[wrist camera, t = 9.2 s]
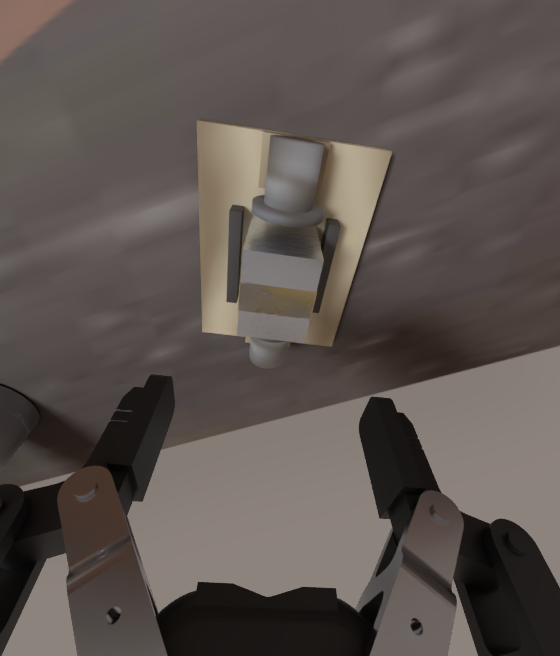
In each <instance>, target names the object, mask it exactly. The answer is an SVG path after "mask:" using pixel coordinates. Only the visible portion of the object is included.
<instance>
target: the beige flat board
mask: <svg viewBox="0 0 560 656" xmlns="http://www.w3.org/2000/svg"><path fill="white" fill-rule="evenodd" d="M197 150H198V186H199V223H200V259H201V296H202V332H208V333H217V334H226V335H234V336H237V327H238V312H239V310H238V299H239V283H240V278H241V265H242V249H243V246H244V243H245V240H246V236H247V233H248V230H249V226H250V223H251V220H252V217H253V216H255V217H258V218H260V219H262V220H264V221H267V222H270V223H273V224H277V225H282V226H289V227H312V226H316V229H317V233H318V238H319V242H320V246H321V250H322V255H323V259H324V262H323V267H322V271H321V275H320V279H319V283H318V287H317V295H316V299H315V303H314V307H313V312H312V316H311V319H310V321H309V325H308V329H307V333H306V337H305V341H304V344H312V345H321V346H329V347H332V344H333V341H334V337H335V334H336V331H337V328H338V325H339V321H340V318H341V315H342V312H343V308H344V305H345V302H346V299H347V296H348V292H349V289H350V286H351V283H352V280H353V276H354V273H355V270H356V267H357V264H358V260H359V257H360V254H361V251H362V248H363V244H364V241H365V238H366V235H367V232H368V228H369V225H370V222H371V219H372V215H373V212H374V209H375V206H376V203H377V199H378V196H379V193H380V190H381V187H382V183H383V180H384V177H385V174H386V171H387V167H388V164H389V161H390V158H391V155H392V151H390V150H388V149H383V148H376V147H370V146H364V145H358V144H352V143H345V142H339V141H333V140H327V139H321V138H314V137H308V136H302V135H296V134H290V133H283V132H277V131H271V130H265V129H259V128H252V127H246V126H240V125H234V124H228V123H221V122H215V121H209V120H203V119H200V120H197ZM243 337H246V336H243ZM245 342H246V343H250V351H249V358H250V360H251V362H252V363H253V364H255V365H256V366H258V367H261V368H266V369H271V368H275V367H278V366H279V365H281V364H282V362H283V360H284V355H285V350H286V347H290V342H288V341H280V340H271V339H263V338H254V337H246V341H245ZM295 343H297V342H295Z"/></svg>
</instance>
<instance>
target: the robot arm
mask: <svg viewBox="0 0 560 656" xmlns="http://www.w3.org/2000/svg"><path fill="white" fill-rule="evenodd" d="M174 407H175V399H174V390H173V381H172V377H171V376H162V375H150V376H149V378H148V380H147V382H146V384H145V386H144V388H141V387H134V388H133V389H132V390H130V391H129V392H128V393H127V394H126V395H125V396H124V397H123V398H122V400H121V402H120V403H119V405H118V407H117V409H116V412H114V414H113V416H112V418H111V421H110V422H109V423H108V425H107V427H106V429H105V431H104V433H103V434H102V436H101V438H100V440H99V442H98V443H97V445H96V447H95V449H94V451H93V453H92V454H91V456H90V458H89V460H88V461H87V463H86V464H85V466H84V467H83V468H82V469H80V470H78V471H76V472H75V473H73V474H72V475H71V476H70V477H69V478H68V479H67V480H65V481H63V482H60V483H58V484H54V485H50V486H46V487H41V488H37V489H33V490H28V491H24V492H23V490H22V489H21V488H20V487H18V486H16V485H13V484H3V485H0V656H1V655H2V653H3V651H4V649H5V646H6V645H7V642H8V640H9V638H10V636H11V634H12V632H13V630H14V628H15V625H16V623H17V621H18V619H19V617H20V615H21V612H22V610H23V608H24V606H25V604H26V602H27V600H28V598H29V595H30V593H31V591H32V589H33V587H34V585H35V583H36V580H37V578H38V576H39V574H40V572H41V570H42V568H43V565H44V563H45V561H46V559H47V558H51V557H54V556H57V555H61V554H64V553H66V555H67V561H68V567H69V574H68V576H67V580H66V582H67V583H66V584H67V595H68V600H69V607H70V613H71V619H72V625H73V631H74V638H75V643H76V650H77V656H447V655H448V650H449V645H450V639H451V634H452V628H453V624H454V618H455V613H456V605H457V600H456V596H455V595H454V594H453V593H452V590H451V586H452V581H453V579H454V582H455V584H456V588H457V591H458V594H459V597H460V600H461V603H462V606H463V609H464V613H465V616H466V619H467V622H468V625H469V628H470V631H471V634H472V637H473V641H474V644H475V647H476V650H477V653H478V656H560V588H559V586H558V584H557V582H556V580H555V578H554V576H553V575H552V573H551V571H550V569H549V567H548V565H547V563H546V561H545V560H544V558H543V556H542V554H541V552H540V550H539V548H538V547H537V545H536V543H535V542H534V540H533V539H532V538H531V537H530V535H529V534H528V533H527V532H526V531H525V530H524V529H522V528H521V527H520V526H518V525H517V524H515V523H513V522H512V521H509V520H506V519H497V520H495V521H494V522H492V523H491V524H489V523H486V522H484V521H482V520H479V519H477V518H474V517H472V516H469V515H467V514H465V513H463V512H461V511H459V509H458V507H457V506H456V505H455V504H454V503H453V501H452V500H450V499H449V498H448V497H447V496H445V495H444V494H442V493H441V491H440V489H439V487H438V485H437V482H436V480H435V478H434V475H433V473H432V470H431V468H430V465H429V463H428V460H427V458H426V456H425V453H424V451H423V450H422V446H421V444H420V441H419V439H418V438H417V437H418V436H417V434H416V432H415V429H414V427H413V424H412V423H411V422H410V421H409V419H408V418H407V417H406V416H405V415H404V413H398V412H397V411H396V408H395V405H394V403H393V401H392V400H391V399H390V398H381V397H371V398H370V400H369V402H368V404H367V406H366V408H365V410H364V412H363V414H362V417H361V419H360V422H359V433H360V438H361V442H362V447H363V451H364V455H365V459H366V463H367V468H368V472H369V476H370V480H371V484H372V489H373V493H374V497H375V501H376V505H377V509H378V514H379V518H382V519H390V520H391V523H392V529H391V531H390V533H389V535H388V538H387V540H386V543H385V545H384V548H383V550H382V553H381V555H380V558H379V560H378V563H377V565H376V567H375V570H374V572H373V575H372V577H371V579H370V582H369V583H368V585H367V587H366V588H365V590H364V592H363V593H362V596H361V597H360V600H359V602H358V604H357V607H356V609H354V608H353V607H351V606H350V605H349V604H347V603H346V602H344V601H342V600H341V599H338V598H337V594H336V588H316V587H301V588H298V589H294V590H291V591H288V592H285V593H282V594H278V595H275V596H272V597H265V596H262V595H260V594H257V593H255V592H252V591H250V590H247V589H245V588H242V587H240V586H237V585H235V584H230V583H209V582H198V585H197V591H194V592H190V593H188V594H186V595H183V596H182V597H179V598H178V599H176V600H174V601H173V602H171V603H170V604H169V605H168V606H166V607H165V608H164V609H163V610H162V611H161V612H160V613H159V612H158V609H157V607H156V603H155V600H154V597H153V594H152V591H151V588H150V585H149V582H148V579H147V576H146V573H145V570H144V567H143V564H142V561H141V558H140V555H139V551H138V548H137V545H136V542H135V539H134V536H133V533H132V530H131V526H130V523H129V520H128V517H127V514H128V512H129V509H130V507H131V504H132V501H141V502H142V501H143V499H144V496H145V493H146V490H147V487H148V484H149V482H150V479H151V476H152V473H153V470H154V467H155V465H156V462H157V459H158V456H159V453H160V451H161V448H162V445H163V442H164V439H165V436H166V434H167V431H168V428H169V425H170V422H171V419H172V417H173V413H174ZM38 422H39V413H38V411H37V409H36V408H35V407H34V405H33V404H32V403H31V402H30V401H29V400H27V399H26V398H24V397H23V396H22V395H20V394H18V393H16V392H15V391H13V390H11V389H8V388H6V387H4V386H1V385H0V471H1V470H2V469H3V467H4V466H5V465H6V463H7V462H8V461H9V460H10V458H11V457H12V456H13V454H14V453H15V452H16V451H17V449H18V448H19V447H20V446H21V444H22V443H23V442H24V440H25V439H26V438H27V437H28V435H29V434H30V433H31V431H32V430H33V429H34V428H35V426H36V425H37V424H38Z"/></svg>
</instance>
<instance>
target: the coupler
mask: <svg viewBox="0 0 560 656" xmlns="http://www.w3.org/2000/svg"><path fill="white" fill-rule="evenodd" d="M323 262H324V259H323V255H322V250H321V246H320V242H319V238H318V233H317V229H316V226H312V227H289V226H282V225H277V224H273V223H270V222H267V221H264V220H262V219H260V218H258V217H255V216H253V217H252V220H251V223H250V226H249V230H248V233H247V236H246V240H245V243H244V246H243V249H242V265H241V278H240V283H239V299H238V310H239V312H238V327H237V336H246V337H254V338H263V339H271V340H280V341H288V342H297V343H304V341H305V337H306V333H307V329H308V325H309V321H310V319H311V316H312V312H313V307H314V303H315V299H316V295H317V287H318V283H319V279H320V275H321V271H322V267H323Z"/></svg>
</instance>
